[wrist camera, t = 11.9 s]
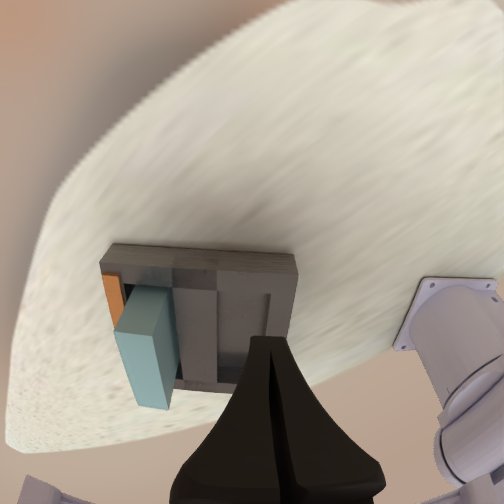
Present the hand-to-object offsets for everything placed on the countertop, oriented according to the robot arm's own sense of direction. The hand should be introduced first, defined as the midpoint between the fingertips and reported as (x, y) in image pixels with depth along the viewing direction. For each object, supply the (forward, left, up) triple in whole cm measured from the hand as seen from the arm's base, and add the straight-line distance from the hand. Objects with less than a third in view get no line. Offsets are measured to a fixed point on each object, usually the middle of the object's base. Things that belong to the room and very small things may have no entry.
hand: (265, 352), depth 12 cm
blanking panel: (+7, +7, -9) cm, 13 cm away
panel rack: (+4, +7, -9) cm, 12 cm away
